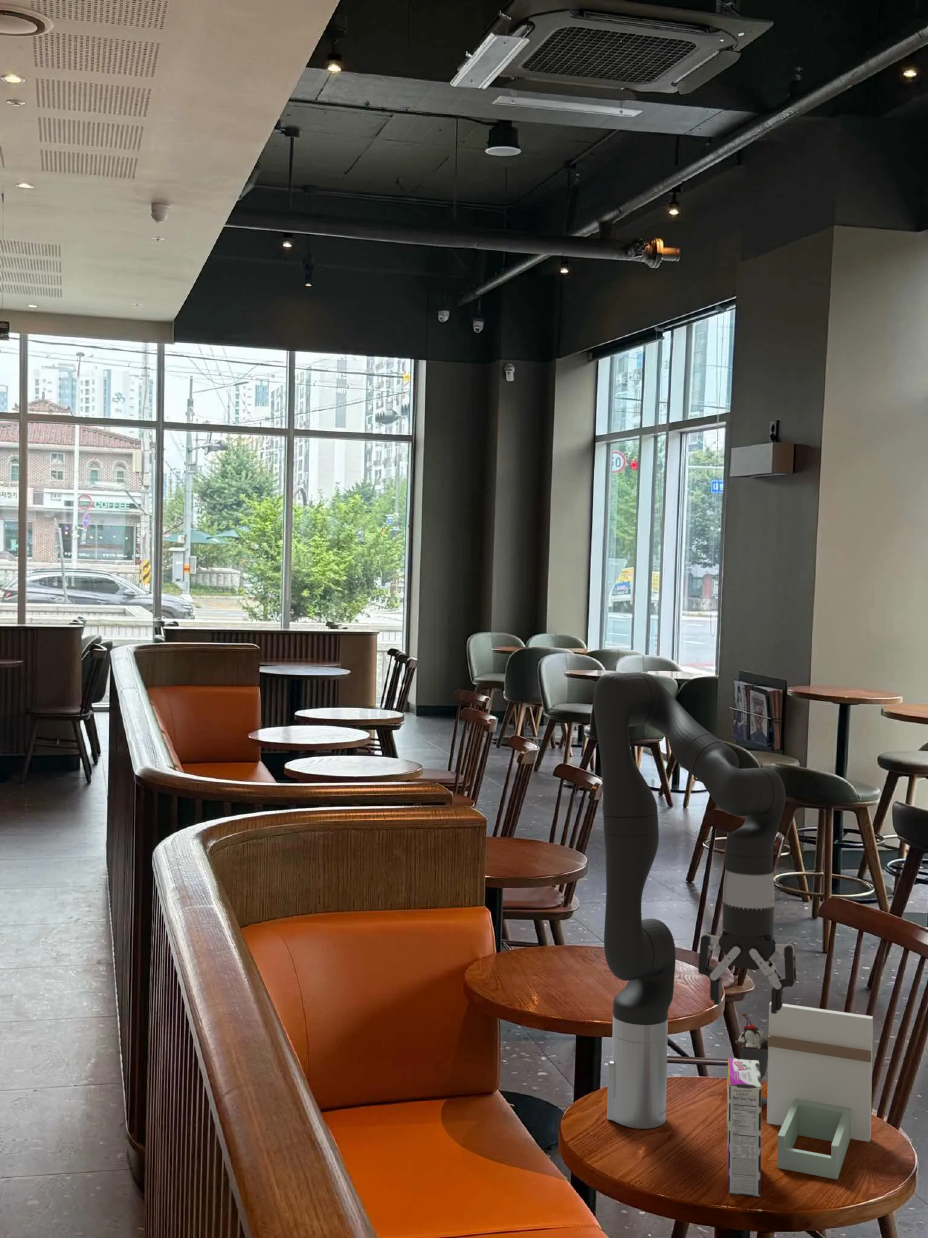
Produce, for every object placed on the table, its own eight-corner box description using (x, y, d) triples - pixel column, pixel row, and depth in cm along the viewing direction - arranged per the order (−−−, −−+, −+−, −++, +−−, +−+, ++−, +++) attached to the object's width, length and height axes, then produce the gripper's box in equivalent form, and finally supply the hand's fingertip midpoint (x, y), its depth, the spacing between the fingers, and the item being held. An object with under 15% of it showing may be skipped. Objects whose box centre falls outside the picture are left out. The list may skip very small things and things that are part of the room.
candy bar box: (725, 1162, 190) (727, 1056, 190) (758, 1166, 189) (760, 1059, 189) (726, 1195, 179) (728, 1083, 179) (761, 1199, 178) (763, 1086, 178)
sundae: (728, 1093, 218) (730, 1009, 218) (765, 1093, 218) (767, 1009, 218) (739, 1108, 211) (741, 1021, 211) (777, 1108, 212) (779, 1021, 212)
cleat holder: (747, 1162, 190) (750, 1033, 190) (768, 1120, 206) (770, 1002, 206) (858, 1184, 183) (860, 1050, 183) (870, 1139, 200) (872, 1016, 200)
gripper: (695, 900, 184) (693, 1008, 183) (792, 911, 178) (790, 1022, 178) (706, 890, 190) (704, 994, 190) (800, 901, 185) (798, 1008, 185)
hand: (746, 1008), depth 184 cm, fingers open, 8 cm apart
